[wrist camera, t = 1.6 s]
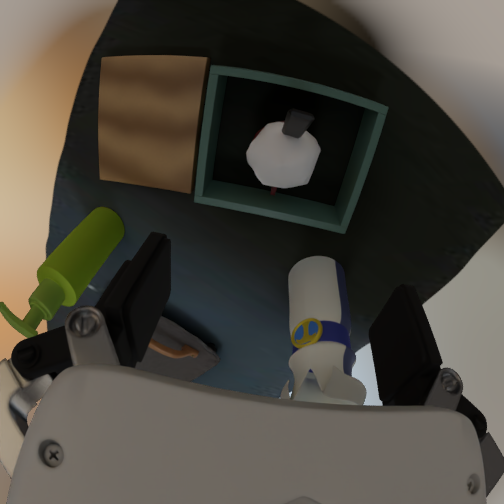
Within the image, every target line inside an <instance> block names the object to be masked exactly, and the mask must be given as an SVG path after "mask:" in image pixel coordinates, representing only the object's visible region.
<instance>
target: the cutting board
mask: <svg viewBox="0 0 504 504" xmlns="http://www.w3.org/2000/svg"><path fill="white" fill-rule="evenodd" d="M210 60H211V58H206V57H192V56H170V55H137V56H115V57H103V58H102V63H101V74H100V90H99V120H98V138H99V169H100V179H102V180H109V181H116V182H123V183H129V184H136V185H142V186H149V187H155V188H161V189H167V190H173V191H178V192H184V193H191V192H192V191H193V189H194V185H195V174H196V164H197V155H198V146H199V137H200V129H201V121H202V114H203V106H204V99H205V92H206V85H207V79H208V73H209V66H210Z"/></svg>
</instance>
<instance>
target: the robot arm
mask: <svg viewBox="0 0 504 504" xmlns="http://www.w3.org/2000/svg"><path fill="white" fill-rule="evenodd" d="M170 291H171V241H170V239H167V236H166V235H165V234H161V233H156V232H151V233H150V235H149V236H148V238H147V239H146V240H145V242H144V243H143V245H142V246H141V248H140V249H139V251H138V252H137V253H136V255H135V256H134V258H133V259H132V261H130V260H127V261H125V262H124V263H123V265H122V266H121V268H120V269H119V271H118V272H117V273H116V275H115V276H114V278H113V279H112V281H111V283H110V284H109V286H108V287H107V289H106V290H105V292H104V293H103V295H102V296H101V298H100V300H99V301H98V303H97V304H96V306H95V307H93V306H80V307H78V308H75V309H74V310H72V311H71V312H70V313H69V314H68V316H67V318H66V320H65V326H62V327H59V328H56V329H53V330H50V331H48V332H45V333H42V334H39V335H36V336H33V337H30V338H27V339H24V340H22V341H20V342H19V343H18V344H17V345H16V346H15V347H14V349H13V351H12V355H11V358H10V359H9V360H7V359H6V358H5V359H3V360H2V361H1V362H0V462H1V463H2V465H3V467H4V469H5V470H6V472H7V473H8V475H9V476H10V478H11V484H10V488H9V493H8V497H7V503H6V504H486V497H487V496H488V495H489V493H490V492H491V490H492V489H493V488H494V486H495V485H496V483H497V482H498V481H499V479H500V478H501V476H502V475H503V473H504V457H503V456H502V453H501V452H500V450H499V448H498V446H497V445H496V443H495V441H494V440H493V438H492V436H491V435H490V433H489V432H488V433H486V430H487V422H486V419H485V417H484V415H483V414H482V413H481V412H480V411H479V410H478V409H477V408H476V407H475V406H474V405H473V404H472V403H471V402H470V401H469V400H467V399H466V398H465V397H464V396H463V395H462V390H463V383H462V380H461V378H460V376H459V375H458V374H457V372H455V371H454V370H453V369H450V368H443V369H441V368H440V365H441V364H442V363H443V362H442V359H441V356H440V353H439V350H438V347H437V344H436V342H435V338H434V336H433V333H432V330H431V327H430V324H429V322H428V319H427V317H426V314H425V311H424V309H423V306H422V304H421V301H420V299H419V296H418V294H417V292H416V289H415V288H414V287H413V286H409V285H404V284H401V285H400V286H399V287H396V288H395V290H394V292H393V293H392V295H391V296H390V298H389V300H388V301H387V303H386V304H385V306H384V308H383V309H382V311H381V312H380V314H379V315H378V317H377V318H376V320H375V321H374V323H373V324H372V326H371V327H370V329H369V339H370V344H371V350H372V355H373V361H374V367H375V373H376V379H377V385H378V392H379V398H380V400H381V401H382V403H383V406H366V405H344V404H329V403H316V402H306V401H296V400H288V399H280V398H273V397H266V396H259V395H253V394H247V393H241V392H236V391H230V390H225V389H220V388H215V387H210V386H206V385H201V384H197V383H192V382H188V381H184V380H179V379H175V378H171V377H167V376H163V375H160V374H156V373H152V372H148V371H143V370H139V369H135V366H136V364H137V362H140V363H141V362H142V360H143V358H144V355H145V353H146V350H147V348H148V345H149V343H150V341H151V338H152V336H153V333H154V331H155V329H156V326H157V324H158V322H159V319H160V317H161V315H162V312H163V310H164V308H165V305H166V303H167V301H168V299H169V296H170ZM127 366H128V367H127ZM41 398H42V399H41ZM40 399H41V401H40V403H39V405H38V407H37V409H36V411H35V413H34V416H33V418H32V421H31V423H30V425H29V427H28V424H27V416H28V413H29V411H30V410H31V409H32V408H33V407H35V406H36V405H37V403H36V402H37V401H38V400H40Z"/></svg>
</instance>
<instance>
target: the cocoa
mask: <svg viewBox="0 0 504 504" xmlns="http://www.w3.org/2000/svg"><path fill="white" fill-rule="evenodd" d="M314 120H315V118H314V116H313V114H311V113H308V112H304V111H301V110H298V109H294V108H292V109H290V110H288V112H287V115H286V119H285V121H284V120H283V121H278V122H272V123H269V124H267V125H266V126H265V127H263V128H262V129H261V130H259V131H258V132H257V133H256V134H255V136H254V139H253V141H252V142H251V144H250V146H249V148H248V150H247V152H246V155H247V161H248V164H249V165H250V166H251V167H252V169H253V170H254V172H255V175H256V177H257V178H258V179H259V180H260V181H261V183H262V184H263V185H268V186H272V188H271V193H270V195H274V196H275V193H276V190H277V187H279V188H290V187H296V186H300V185H305V184H308V182H309V179H310V177H311V175H312V173H313V170H314V167H315V164H316V161H317V159H318V156H319V153H320V147H319V145H318V143H317V140H316V139H315V138H314V137H313V136H312V135H311V134H310V133H308V132H307V131H306V130H307V129H308V127H309V126H310V125H311V123H312V122H313V121H314Z"/></svg>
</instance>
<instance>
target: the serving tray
mask: <svg viewBox="0 0 504 504" xmlns="http://www.w3.org/2000/svg"><path fill="white" fill-rule="evenodd" d="M215 352H216V348H215V345H214V344H212V343H208V344H207V345H206V344H205V343H204V342H203V341H201V340H200V339H199V338H197V337H196V336H194V335H192V334H191V333H189V332H188V331H186V330H185V329H184V328H182V327H181V326H179V325H178V324H176V323H174V322H173V321H171V320H169V319H167V318H165V317H163V316H161V317H160V319H159V322H158V324H157V326H156V329H155V331H154V333H153V336H152V338H151V341H150V343H149V345H148V348H147V350H146V353H145V355H144V358H143V360H142V362H141V363H140V362H137V364H136V366H135V369H139V370H143V371H148V372H152V373H156V374H160V375H163V376H167V377H171V378H175V379H179V380H184V381H188V382H191V381H192V380H194V379H196V378H197V377H199V376H200V375H202V374H203V373H205V372H206V371H208V370H210V369H211V368H212V367H214V366H216V365H217V364H218V363H219V362H220V358H219V356H218V355H217V354H216V353H215ZM127 367H128V366H127Z"/></svg>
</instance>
